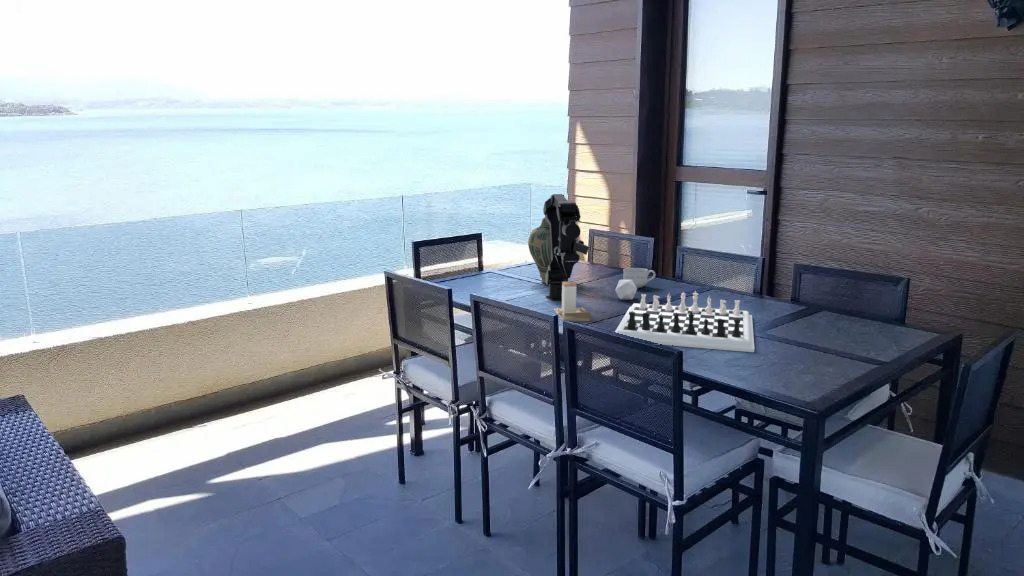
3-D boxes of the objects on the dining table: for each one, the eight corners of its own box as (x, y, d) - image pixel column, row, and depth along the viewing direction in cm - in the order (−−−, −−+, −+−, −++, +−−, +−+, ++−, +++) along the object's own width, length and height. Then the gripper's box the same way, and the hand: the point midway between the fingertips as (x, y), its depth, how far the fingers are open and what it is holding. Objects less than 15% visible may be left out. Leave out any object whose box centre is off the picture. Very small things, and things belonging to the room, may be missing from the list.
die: (630, 303, 303) (642, 283, 304) (612, 292, 304) (624, 272, 305) (627, 306, 311) (639, 286, 313) (609, 295, 312) (621, 275, 313)
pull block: (561, 309, 287) (562, 281, 285) (573, 309, 288) (573, 281, 286) (564, 312, 283) (564, 284, 281) (575, 312, 284) (576, 283, 281)
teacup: (620, 288, 329) (621, 270, 327) (624, 283, 339) (625, 266, 337) (652, 290, 324) (653, 272, 323) (656, 285, 334) (656, 267, 333)
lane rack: (553, 310, 289) (553, 301, 288) (578, 309, 290) (579, 300, 290) (563, 322, 271) (564, 313, 270) (591, 321, 272) (591, 312, 271)
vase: (563, 289, 325) (565, 220, 319) (519, 284, 336) (519, 217, 330) (585, 280, 344) (587, 215, 338) (542, 275, 355) (543, 212, 349)
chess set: (751, 319, 279) (753, 291, 276) (754, 354, 236) (756, 320, 234) (629, 311, 291) (630, 283, 289) (611, 342, 249) (612, 310, 247)
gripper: (593, 238, 277) (592, 280, 281) (581, 231, 295) (580, 270, 299) (563, 239, 276) (563, 280, 279) (553, 232, 294) (553, 271, 297)
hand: (565, 275), depth 289 cm, fingers open, 9 cm apart
